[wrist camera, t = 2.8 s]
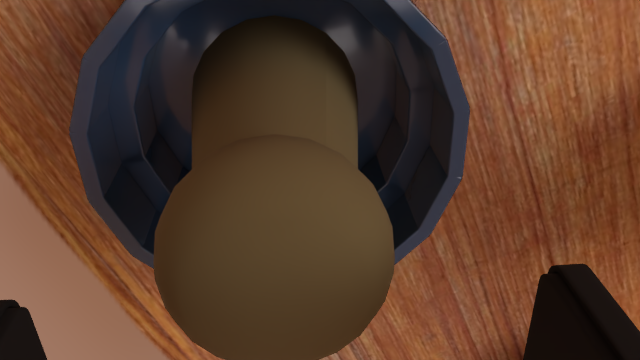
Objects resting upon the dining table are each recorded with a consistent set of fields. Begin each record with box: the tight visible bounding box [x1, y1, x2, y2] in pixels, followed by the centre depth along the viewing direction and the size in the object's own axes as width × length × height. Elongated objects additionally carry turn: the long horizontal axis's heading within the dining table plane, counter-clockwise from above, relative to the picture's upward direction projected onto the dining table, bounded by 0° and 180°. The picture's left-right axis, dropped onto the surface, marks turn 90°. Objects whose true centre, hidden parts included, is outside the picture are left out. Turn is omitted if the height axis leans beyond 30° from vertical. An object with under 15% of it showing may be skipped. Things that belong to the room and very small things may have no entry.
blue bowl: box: [69, 0, 470, 269], centre depth 18 cm, size 11×11×5 cm
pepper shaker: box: [153, 15, 395, 360], centre depth 15 cm, size 6×6×11 cm
